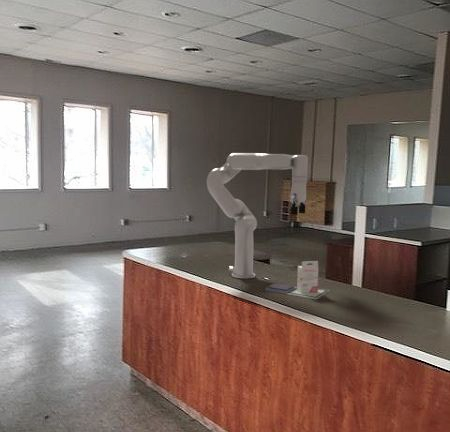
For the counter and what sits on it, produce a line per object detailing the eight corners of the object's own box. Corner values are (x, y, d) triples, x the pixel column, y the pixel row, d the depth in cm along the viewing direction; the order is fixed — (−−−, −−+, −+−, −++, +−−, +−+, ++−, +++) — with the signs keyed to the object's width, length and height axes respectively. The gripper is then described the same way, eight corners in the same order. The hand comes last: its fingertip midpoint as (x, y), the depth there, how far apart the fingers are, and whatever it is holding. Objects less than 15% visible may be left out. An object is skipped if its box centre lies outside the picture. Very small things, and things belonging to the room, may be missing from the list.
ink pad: (265, 290, 228) (265, 286, 228) (274, 286, 237) (274, 282, 237) (286, 294, 223) (286, 290, 222) (295, 289, 231) (295, 286, 231)
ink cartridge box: (313, 289, 230) (314, 258, 229) (317, 292, 226) (319, 261, 224) (296, 290, 228) (297, 259, 226) (300, 293, 223) (301, 261, 222)
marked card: (286, 294, 223) (286, 292, 222) (301, 286, 237) (301, 285, 237) (315, 299, 215) (315, 298, 215) (329, 291, 230) (329, 289, 230)
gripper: (299, 179, 253) (298, 212, 255) (285, 179, 238) (284, 214, 240) (313, 179, 249) (311, 213, 251) (299, 180, 234) (298, 215, 236)
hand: (298, 213), depth 245 cm, fingers open, 9 cm apart
